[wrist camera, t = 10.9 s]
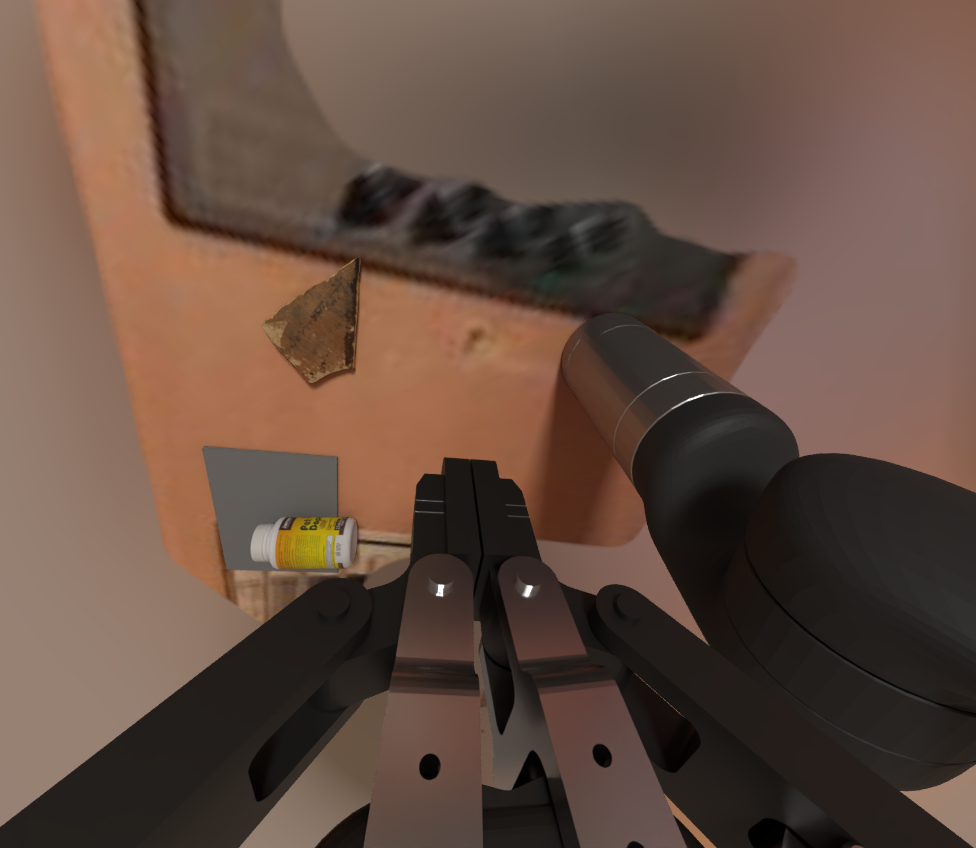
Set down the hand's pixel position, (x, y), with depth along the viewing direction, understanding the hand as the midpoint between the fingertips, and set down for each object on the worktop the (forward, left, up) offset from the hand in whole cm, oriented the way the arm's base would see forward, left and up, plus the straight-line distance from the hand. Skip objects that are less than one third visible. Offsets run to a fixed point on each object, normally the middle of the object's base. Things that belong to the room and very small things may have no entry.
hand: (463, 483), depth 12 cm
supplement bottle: (+6, +29, -25) cm, 39 cm away
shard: (+11, +5, -28) cm, 31 cm away
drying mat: (+16, +29, -28) cm, 43 cm away
